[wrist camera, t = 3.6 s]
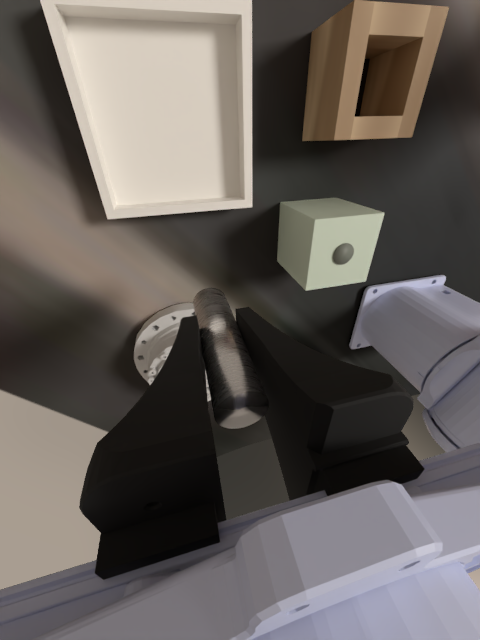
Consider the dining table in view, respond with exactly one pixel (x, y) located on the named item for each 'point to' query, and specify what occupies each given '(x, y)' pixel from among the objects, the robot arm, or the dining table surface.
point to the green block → (327, 241)
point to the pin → (228, 363)
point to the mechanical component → (160, 340)
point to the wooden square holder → (371, 70)
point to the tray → (160, 100)
